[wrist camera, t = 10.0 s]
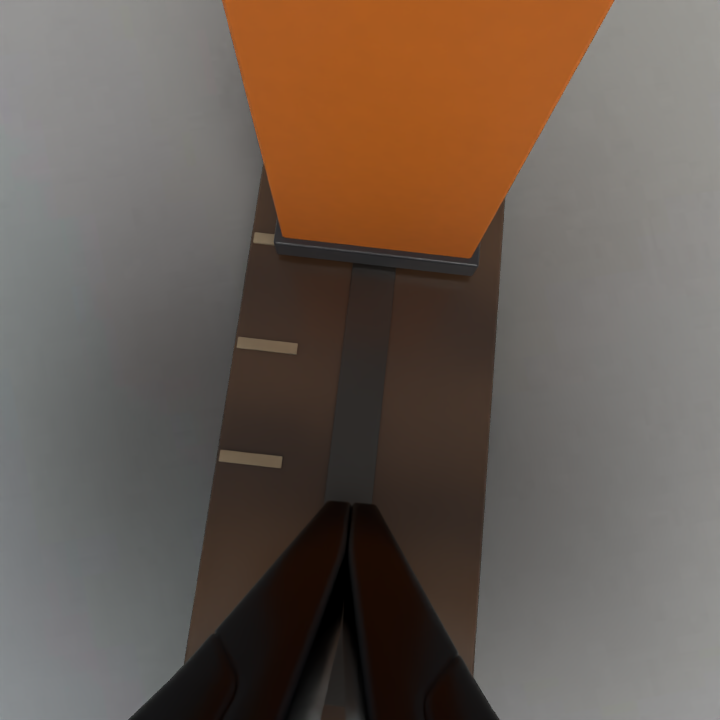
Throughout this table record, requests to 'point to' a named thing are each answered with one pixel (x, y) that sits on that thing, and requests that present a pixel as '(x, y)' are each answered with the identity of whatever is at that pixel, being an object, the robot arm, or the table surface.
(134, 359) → the table surface
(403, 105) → the orange rectangular block
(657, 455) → the table surface
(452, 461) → the rail
